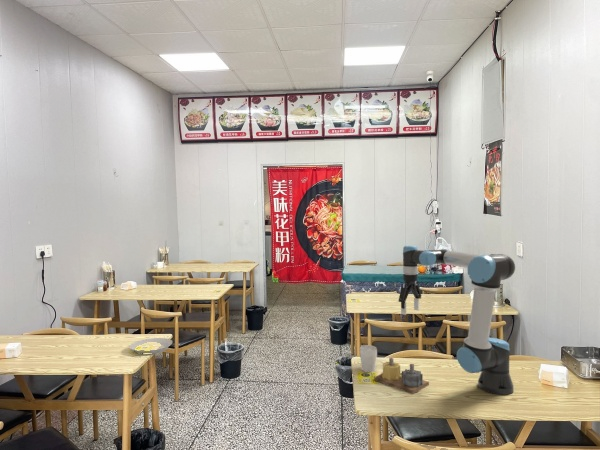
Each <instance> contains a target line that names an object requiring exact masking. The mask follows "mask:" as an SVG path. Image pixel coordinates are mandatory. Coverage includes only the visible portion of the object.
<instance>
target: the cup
mask: <svg viewBox="0 0 600 450" xmlns="http://www.w3.org/2000/svg"><path fill="white" fill-rule="evenodd" d="M359 357H360V362H361V364H360V365H361V370H362V372H365V373H374V372H375V371H376V365H377V364H376V363H377V357H378V349H377V346H375V345H370V344H364V345H360V347H359Z"/></svg>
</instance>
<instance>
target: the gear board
mask: <svg viewBox="0 0 600 450" xmlns="http://www.w3.org/2000/svg"><path fill="white" fill-rule="evenodd" d="M388 362H389V365H390V366H393V362H394V358H393V357H389V360H388ZM400 373H401V375H402V378H399V379H398V380H388V379H386V378H382V375H381V373H380V374H378V375H375V376H374V377H373V380H374V381H375V382H378V383H381V384H384V385H387V386H389V387H393V388H396V389H398V390H401V391H404V392H407V393H410V394H413V395H415V394H416V393H417V392H420V391H421V390H423V389H425V388H426V387H428V386H429V385H430V381H427V380H425V379H423V378H424V377H423V373H422V372H421V370H415V364H414V363H410V364H409V369H407V368H405V369H404V370H402V371H401V372H400Z"/></svg>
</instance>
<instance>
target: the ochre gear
mask: <svg viewBox="0 0 600 450" xmlns="http://www.w3.org/2000/svg"><path fill="white" fill-rule="evenodd" d="M401 373H402V372H401V365H400V363H399V362H396V361H393V366H390V365H389V361H385V362H383V363H382V372H381V373H380V374H381V375H382V378H386V379H388V380H398V379H399V378H402V375H401Z"/></svg>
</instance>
